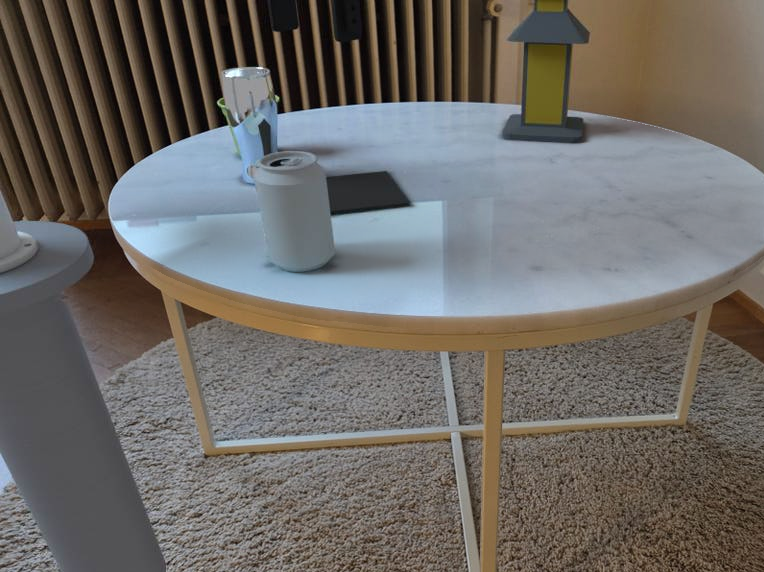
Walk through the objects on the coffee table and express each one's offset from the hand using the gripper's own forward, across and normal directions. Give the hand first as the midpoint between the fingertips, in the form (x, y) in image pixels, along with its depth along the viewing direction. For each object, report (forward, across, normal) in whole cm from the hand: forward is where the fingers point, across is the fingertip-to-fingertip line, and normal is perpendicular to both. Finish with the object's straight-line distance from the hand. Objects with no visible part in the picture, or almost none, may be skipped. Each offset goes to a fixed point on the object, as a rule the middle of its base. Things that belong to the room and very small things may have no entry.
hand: (316, 35), depth 70 cm
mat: (+23, -11, +12) cm, 28 cm away
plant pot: (+23, -37, +16) cm, 46 cm away
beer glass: (+23, -26, +9) cm, 36 cm away
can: (+23, +1, -6) cm, 24 cm away
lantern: (+23, -8, +58) cm, 63 cm away
